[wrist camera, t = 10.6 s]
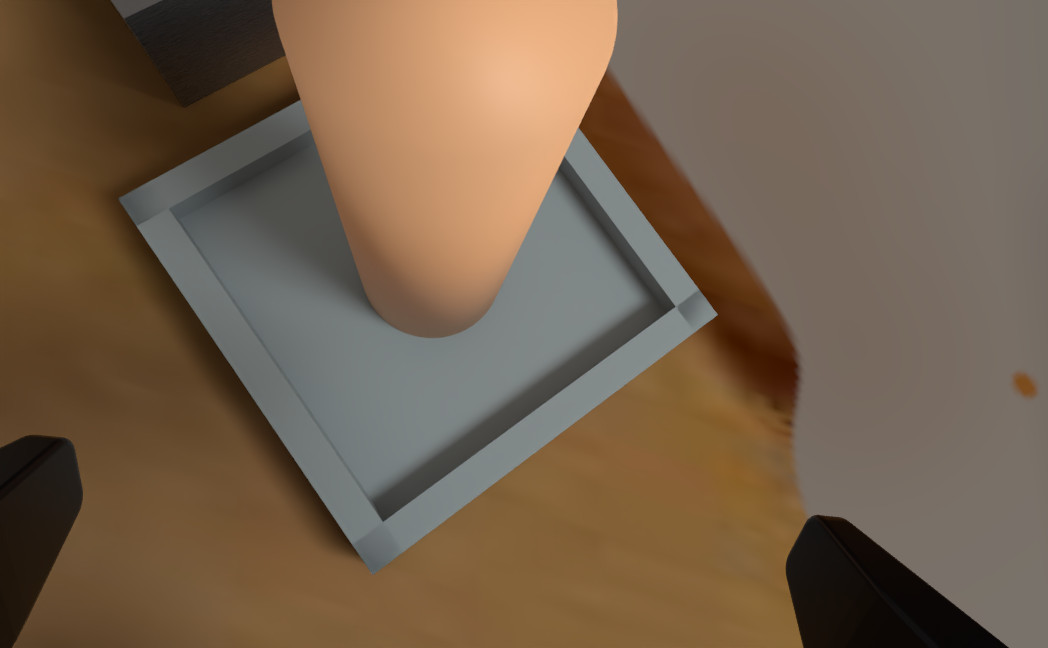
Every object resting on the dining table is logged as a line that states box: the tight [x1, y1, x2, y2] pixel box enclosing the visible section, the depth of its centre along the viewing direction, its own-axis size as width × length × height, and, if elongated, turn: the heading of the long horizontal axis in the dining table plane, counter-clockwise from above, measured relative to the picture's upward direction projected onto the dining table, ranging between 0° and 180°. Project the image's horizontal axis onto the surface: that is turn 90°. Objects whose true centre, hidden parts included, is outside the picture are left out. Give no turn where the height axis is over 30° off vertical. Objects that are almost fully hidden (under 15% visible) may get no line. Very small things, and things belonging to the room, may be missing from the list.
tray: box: [118, 100, 718, 575], centre depth 21 cm, size 13×13×2 cm
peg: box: [272, 0, 618, 338], centre depth 15 cm, size 4×4×13 cm
